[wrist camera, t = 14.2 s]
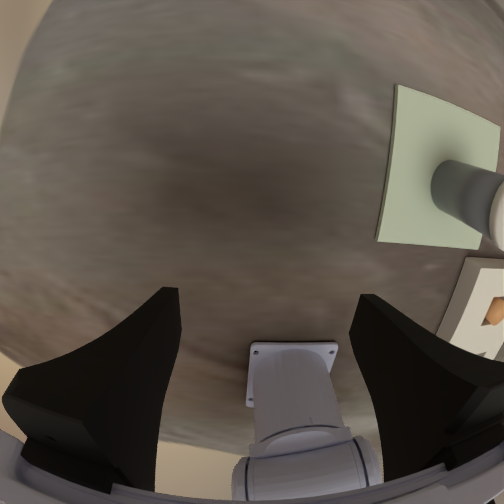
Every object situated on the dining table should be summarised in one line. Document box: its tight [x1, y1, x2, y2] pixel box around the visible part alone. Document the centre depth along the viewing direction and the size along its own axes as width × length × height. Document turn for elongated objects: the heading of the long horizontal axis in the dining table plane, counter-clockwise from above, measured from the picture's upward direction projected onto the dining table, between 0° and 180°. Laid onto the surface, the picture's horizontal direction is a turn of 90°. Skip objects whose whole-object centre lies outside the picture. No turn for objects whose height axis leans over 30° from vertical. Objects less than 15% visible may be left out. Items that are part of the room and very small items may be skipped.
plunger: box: [485, 297, 504, 326], centre depth 23 cm, size 3×3×2 cm
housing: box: [436, 257, 504, 360], centre depth 25 cm, size 19×12×2 cm, turn 176°
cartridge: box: [431, 160, 504, 251], centre depth 15 cm, size 5×5×8 cm
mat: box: [375, 85, 500, 250], centre depth 19 cm, size 12×12×1 cm
